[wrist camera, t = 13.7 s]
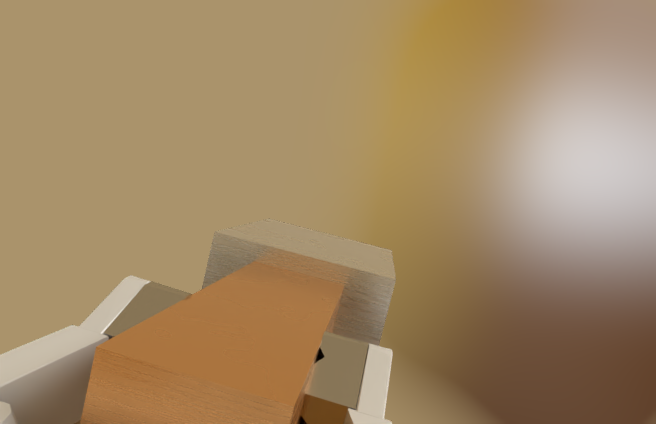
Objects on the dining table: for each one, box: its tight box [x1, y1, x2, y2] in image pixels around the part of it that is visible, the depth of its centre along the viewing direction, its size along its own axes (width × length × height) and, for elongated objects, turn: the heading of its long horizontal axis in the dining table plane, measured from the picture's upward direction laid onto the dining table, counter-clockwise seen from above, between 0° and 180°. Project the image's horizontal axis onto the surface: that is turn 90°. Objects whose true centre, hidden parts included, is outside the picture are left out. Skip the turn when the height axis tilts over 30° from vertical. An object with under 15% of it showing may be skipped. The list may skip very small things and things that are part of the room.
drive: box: [80, 219, 396, 424], centre depth 14 cm, size 6×15×3 cm, turn 173°
